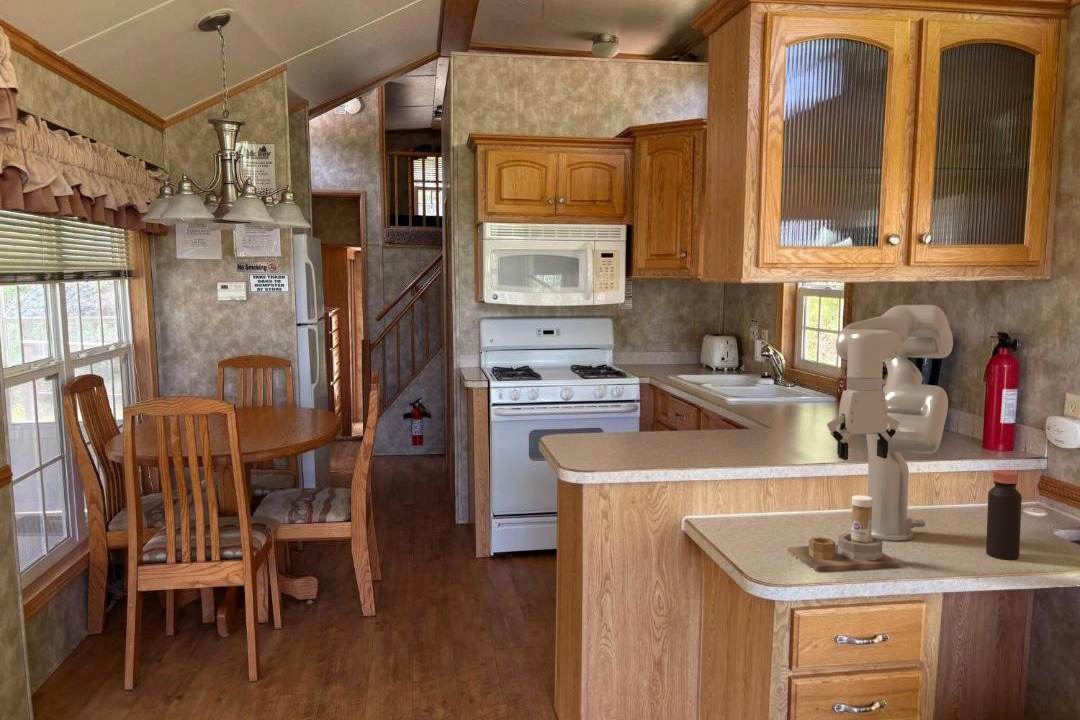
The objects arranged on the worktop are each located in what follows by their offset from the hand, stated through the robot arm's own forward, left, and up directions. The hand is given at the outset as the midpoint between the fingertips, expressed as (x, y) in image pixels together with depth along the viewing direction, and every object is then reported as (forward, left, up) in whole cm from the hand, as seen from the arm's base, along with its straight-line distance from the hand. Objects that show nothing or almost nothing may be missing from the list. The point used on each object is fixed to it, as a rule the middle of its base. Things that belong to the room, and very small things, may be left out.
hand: (862, 458), depth 178 cm
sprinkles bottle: (0, 0, -23) cm, 23 cm away
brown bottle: (-34, +3, -24) cm, 42 cm away
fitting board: (+5, 0, -24) cm, 24 cm away
